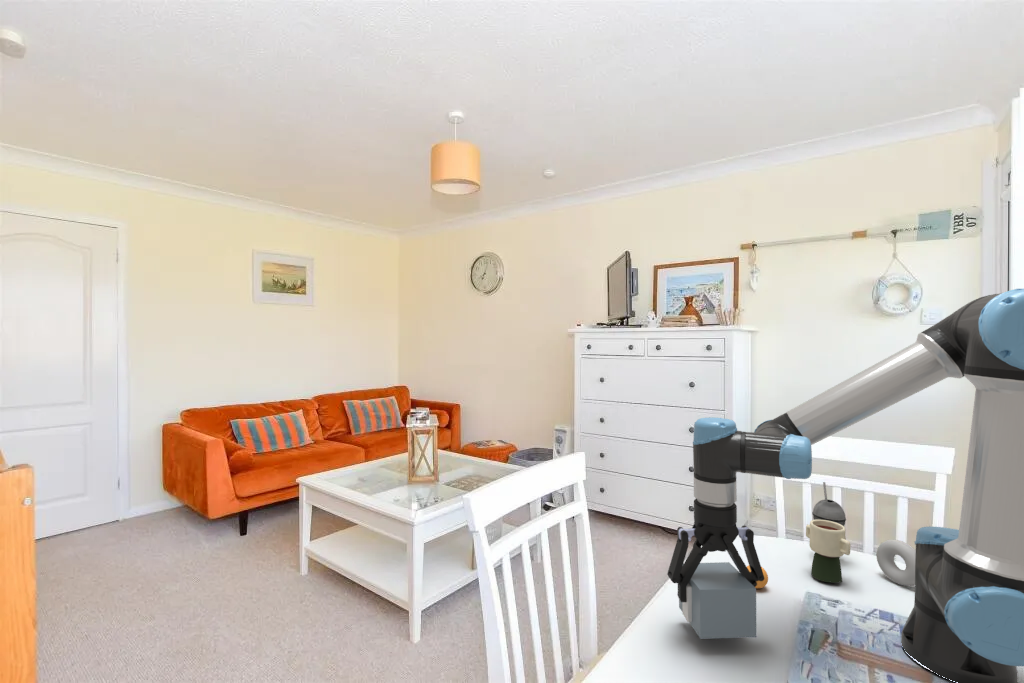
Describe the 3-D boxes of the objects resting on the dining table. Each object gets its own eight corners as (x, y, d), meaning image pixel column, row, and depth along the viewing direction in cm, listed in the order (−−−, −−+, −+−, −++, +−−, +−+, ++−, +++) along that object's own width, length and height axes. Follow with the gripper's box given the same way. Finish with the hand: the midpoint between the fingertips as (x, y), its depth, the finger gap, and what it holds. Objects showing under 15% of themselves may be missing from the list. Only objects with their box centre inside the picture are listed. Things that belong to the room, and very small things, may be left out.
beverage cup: (844, 570, 119) (846, 489, 119) (809, 561, 124) (811, 483, 123) (846, 559, 125) (847, 482, 125) (812, 551, 129) (814, 477, 129)
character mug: (860, 588, 111) (861, 532, 111) (837, 593, 108) (838, 536, 108) (816, 566, 121) (817, 514, 121) (794, 570, 119) (795, 518, 119)
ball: (772, 590, 110) (773, 568, 110) (757, 594, 108) (757, 572, 108) (753, 579, 114) (754, 558, 114) (738, 584, 112) (738, 562, 112)
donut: (928, 593, 109) (929, 549, 109) (917, 595, 108) (918, 551, 108) (882, 572, 119) (883, 531, 118) (872, 574, 117) (873, 533, 117)
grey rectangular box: (729, 606, 97) (729, 562, 97) (756, 637, 87) (756, 588, 87) (679, 607, 97) (678, 563, 97) (700, 638, 87) (699, 589, 87)
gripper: (763, 493, 96) (763, 604, 96) (649, 495, 95) (649, 607, 96) (785, 506, 89) (786, 627, 89) (661, 508, 88) (662, 630, 88)
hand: (715, 617), depth 92 cm, fingers closed on grey rectangular box, 10 cm apart
